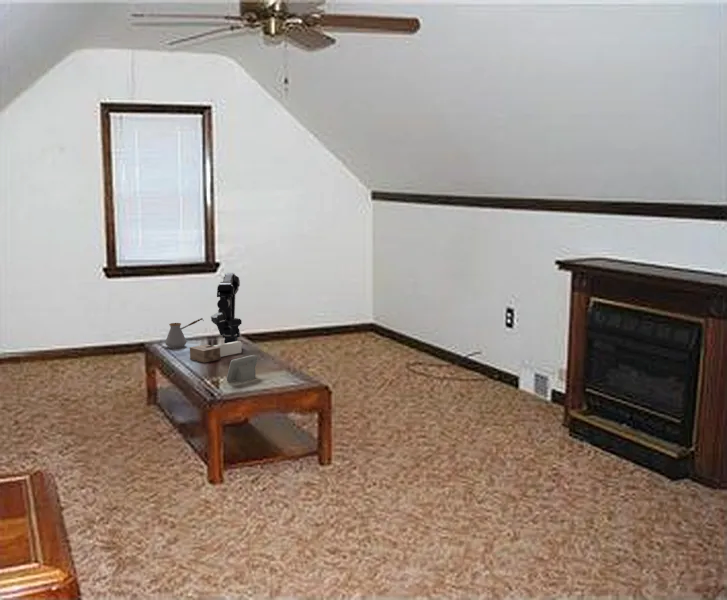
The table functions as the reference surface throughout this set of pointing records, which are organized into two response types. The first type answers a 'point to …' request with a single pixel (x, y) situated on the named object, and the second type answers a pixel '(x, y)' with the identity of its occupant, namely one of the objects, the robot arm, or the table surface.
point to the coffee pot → (177, 335)
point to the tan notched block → (205, 353)
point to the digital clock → (242, 369)
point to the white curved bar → (229, 348)
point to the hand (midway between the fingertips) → (226, 336)
